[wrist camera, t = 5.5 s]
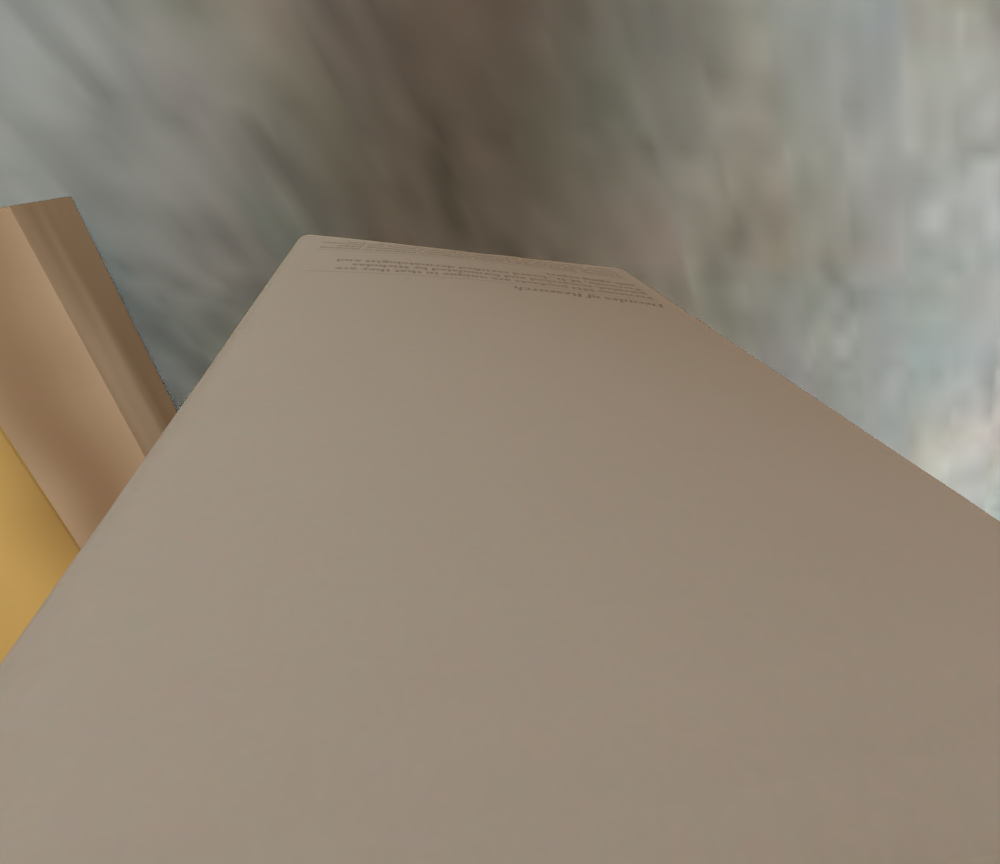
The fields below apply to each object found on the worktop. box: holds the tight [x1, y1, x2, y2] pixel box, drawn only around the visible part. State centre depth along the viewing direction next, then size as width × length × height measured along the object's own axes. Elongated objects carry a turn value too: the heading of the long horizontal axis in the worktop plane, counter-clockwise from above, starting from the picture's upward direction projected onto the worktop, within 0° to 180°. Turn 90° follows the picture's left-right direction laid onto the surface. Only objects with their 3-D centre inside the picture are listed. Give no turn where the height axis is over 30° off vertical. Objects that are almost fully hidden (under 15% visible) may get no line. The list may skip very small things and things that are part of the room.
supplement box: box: [0, 234, 1000, 864], centre depth 9 cm, size 7×7×13 cm
